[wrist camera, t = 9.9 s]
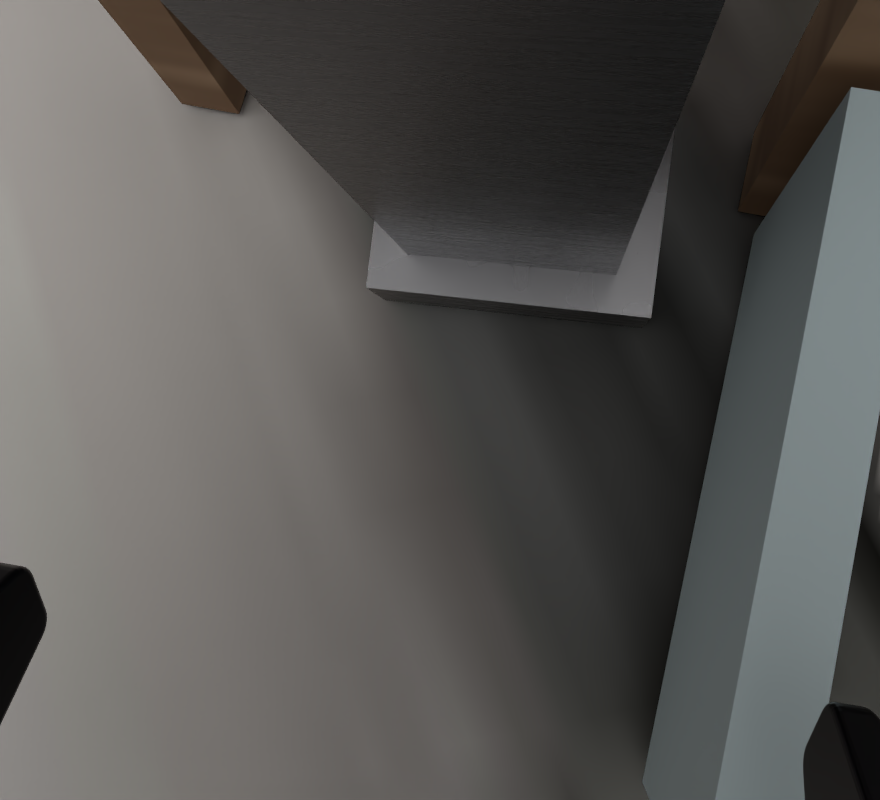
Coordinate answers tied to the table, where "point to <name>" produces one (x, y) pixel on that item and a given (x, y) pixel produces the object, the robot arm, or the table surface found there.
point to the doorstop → (483, 135)
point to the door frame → (775, 139)
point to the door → (781, 486)
